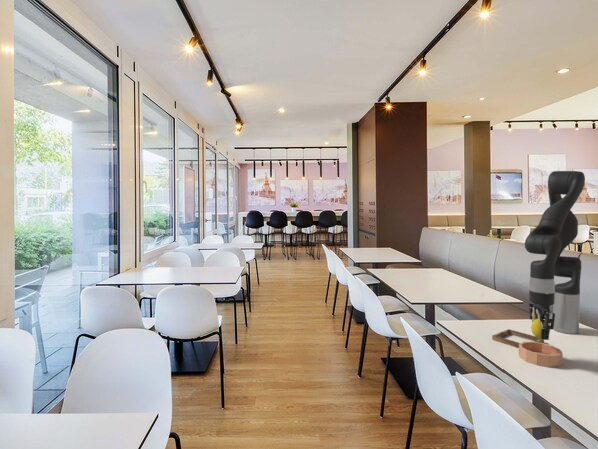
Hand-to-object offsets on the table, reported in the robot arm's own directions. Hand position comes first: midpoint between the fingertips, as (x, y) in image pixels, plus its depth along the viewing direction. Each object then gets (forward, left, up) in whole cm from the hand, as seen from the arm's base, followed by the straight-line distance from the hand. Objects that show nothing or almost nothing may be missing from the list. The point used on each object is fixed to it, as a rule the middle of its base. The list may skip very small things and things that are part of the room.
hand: (540, 336), depth 124 cm
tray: (-12, -13, -8) cm, 19 cm away
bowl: (0, 0, -8) cm, 8 cm away
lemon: (0, 0, -1) cm, 1 cm away
